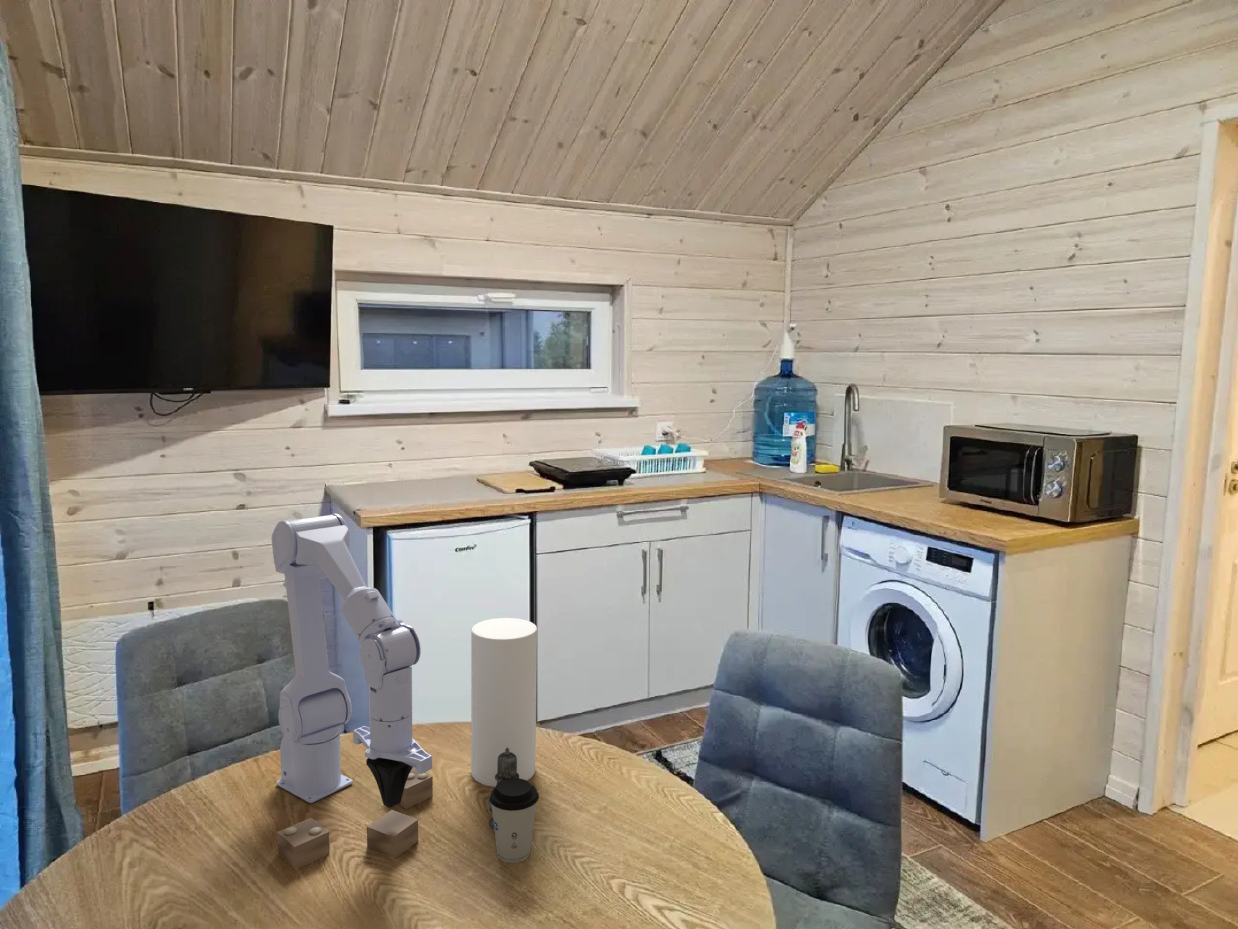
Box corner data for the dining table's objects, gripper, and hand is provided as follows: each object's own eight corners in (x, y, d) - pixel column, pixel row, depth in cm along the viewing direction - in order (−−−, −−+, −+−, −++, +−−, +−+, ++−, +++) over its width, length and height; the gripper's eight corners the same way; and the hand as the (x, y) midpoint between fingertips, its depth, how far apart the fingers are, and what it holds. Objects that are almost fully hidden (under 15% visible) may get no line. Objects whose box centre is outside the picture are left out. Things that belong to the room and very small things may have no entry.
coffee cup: (546, 844, 120) (547, 779, 119) (525, 873, 114) (526, 804, 112) (502, 834, 123) (503, 770, 121) (479, 861, 116) (480, 794, 115)
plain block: (367, 849, 119) (366, 826, 118) (392, 831, 123) (391, 809, 122) (393, 860, 116) (393, 837, 116) (418, 842, 121) (418, 819, 120)
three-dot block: (387, 798, 132) (386, 776, 131) (413, 786, 136) (413, 764, 135) (406, 810, 129) (406, 787, 128) (432, 797, 133) (432, 775, 132)
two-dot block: (277, 855, 117) (277, 830, 116) (311, 840, 120) (311, 816, 120) (295, 871, 113) (294, 845, 113) (329, 855, 117) (328, 830, 117)
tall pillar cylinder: (531, 788, 136) (533, 640, 132) (465, 786, 136) (465, 638, 132) (538, 756, 146) (540, 618, 143) (477, 754, 146) (477, 616, 143)
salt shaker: (519, 836, 122) (519, 759, 121) (481, 830, 123) (481, 754, 122) (531, 814, 128) (532, 740, 126) (494, 809, 129) (495, 736, 127)
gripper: (334, 708, 118) (336, 798, 120) (403, 738, 109) (404, 834, 111) (375, 692, 123) (376, 778, 125) (443, 720, 115) (443, 811, 117)
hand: (392, 803), depth 119 cm, fingers closed
